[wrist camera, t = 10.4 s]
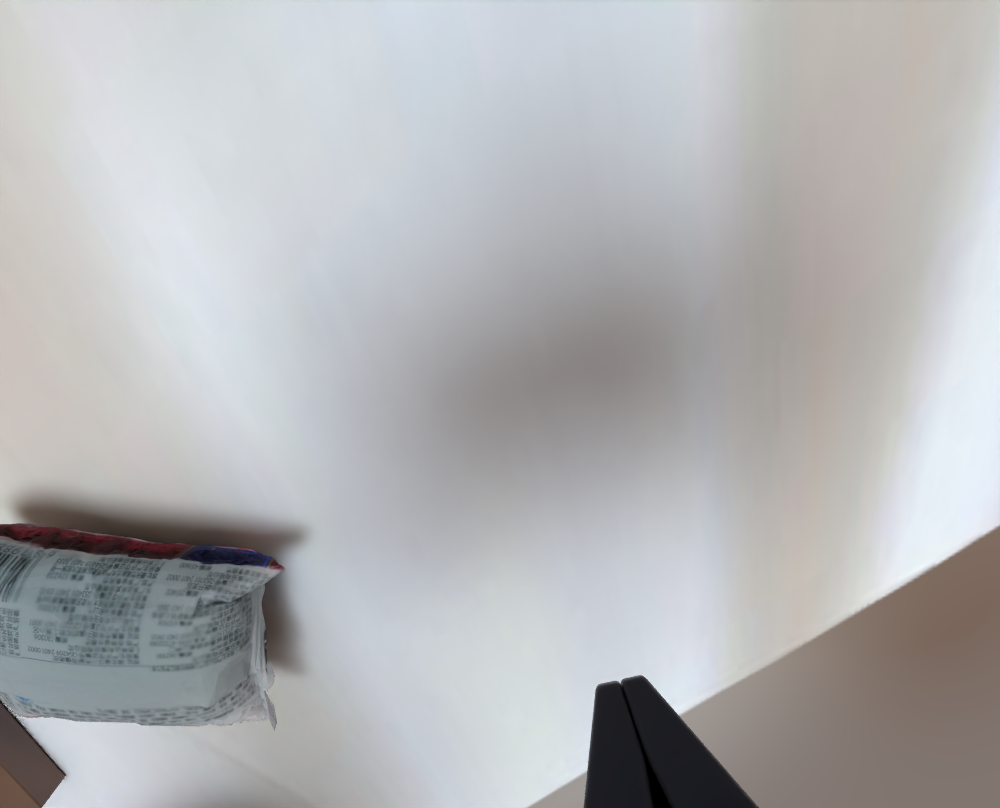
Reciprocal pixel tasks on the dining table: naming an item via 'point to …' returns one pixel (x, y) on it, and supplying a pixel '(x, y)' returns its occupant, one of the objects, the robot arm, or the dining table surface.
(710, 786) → the robot arm
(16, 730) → the bread board
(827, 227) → the dining table surface
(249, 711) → the packaged food
